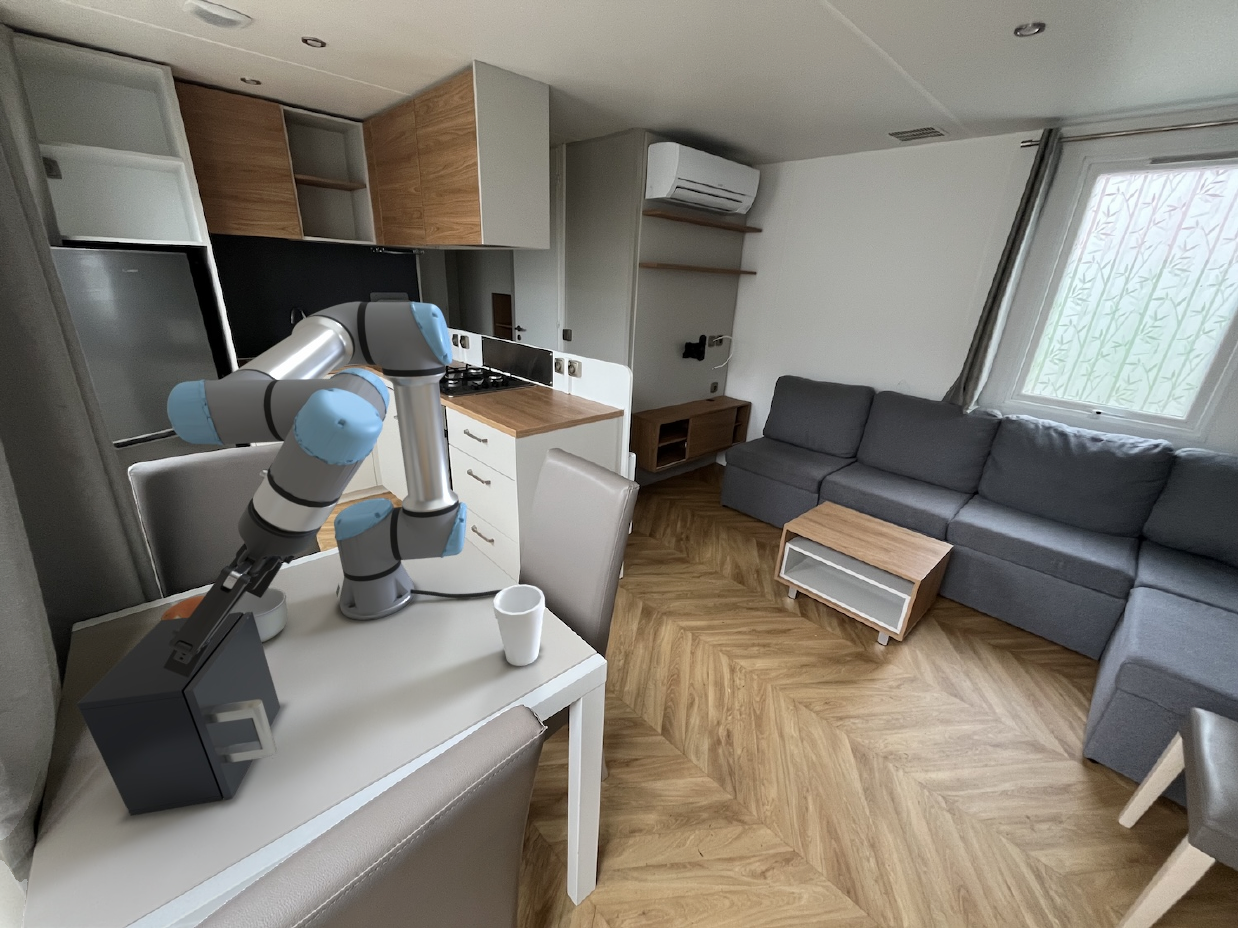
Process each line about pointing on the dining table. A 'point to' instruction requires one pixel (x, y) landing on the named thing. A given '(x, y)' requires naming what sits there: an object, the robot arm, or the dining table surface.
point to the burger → (182, 608)
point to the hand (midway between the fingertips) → (218, 627)
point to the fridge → (153, 726)
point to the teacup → (266, 611)
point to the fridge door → (235, 705)
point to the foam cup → (520, 622)
